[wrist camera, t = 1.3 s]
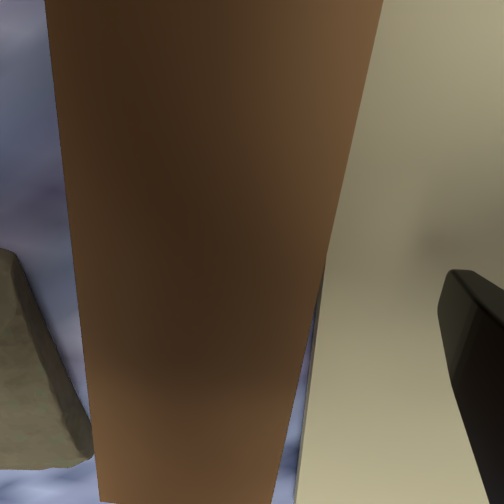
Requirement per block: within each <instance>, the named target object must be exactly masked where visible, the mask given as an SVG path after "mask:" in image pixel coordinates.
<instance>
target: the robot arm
mask: <svg viewBox="0 0 504 504" xmlns="http://www.w3.org/2000/svg"><path fill="white" fill-rule="evenodd" d="M437 316H438V321H439V326H440V332H441V337H442V342H443V347H444V352H445V358H446V363H447V368H448V373H449V378H450V382H451V386H452V390H453V393H454V396H455V399H456V402H457V406H458V409H459V412H460V415H461V418H462V421H463V424H464V427H465V430H466V433H467V436H468V439H469V442H470V446H471V449H472V452H473V455H474V458H475V461H476V464H477V467H478V470H479V473H480V476H481V479H482V482H483V486H484V489H485V492H486V495H487V498H488V501H489V504H504V290H503V289H502V288H500V287H498V286H497V285H495V284H494V283H492V282H490V281H489V280H487V279H486V278H484V277H482V276H481V275H479V274H478V273H476V272H474V271H472V270H463V269H451V270H450V271H448V273H447V275H446V277H445V281H444V284H443V288H442V291H441V295H440V298H439V302H438V307H437Z"/></svg>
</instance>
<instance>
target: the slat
mask: <svg viewBox="0 0 504 504" xmlns="http://www.w3.org/2000/svg"><path fill="white" fill-rule="evenodd" d="M44 1H45V10H46V19H47V28H48V37H49V46H50V55H51V64H52V73H53V82H54V91H55V100H56V109H57V118H58V127H59V136H60V145H61V154H62V163H63V172H64V181H65V190H66V199H67V208H68V217H69V226H70V235H71V244H72V253H73V262H74V272H75V281H76V290H77V299H78V308H79V317H80V326H81V335H82V344H83V353H84V362H85V371H86V380H87V389H88V398H89V407H90V416H91V425H92V434H93V443H94V452H95V461H96V470H97V479H98V488H99V497H100V501H101V502H108V503H116V504H271V502H272V497H273V493H274V488H275V484H276V479H277V475H278V470H279V466H280V461H281V457H282V452H283V448H284V443H285V439H286V435H287V430H288V426H289V421H290V417H291V412H292V408H293V403H294V399H295V394H296V390H297V385H298V381H299V376H300V372H301V367H302V363H303V358H304V354H305V350H306V345H307V341H308V336H309V332H310V327H311V323H312V318H313V314H314V309H315V305H316V300H317V296H318V291H319V287H320V282H321V278H322V273H323V269H324V265H325V260H326V256H327V251H328V247H329V242H330V238H331V233H332V229H333V224H334V220H335V215H336V211H337V206H338V202H339V197H340V193H341V188H342V184H343V180H344V175H345V171H346V166H347V162H348V157H349V153H350V148H351V144H352V139H353V135H354V130H355V126H356V121H357V117H358V112H359V108H360V103H361V99H362V95H363V90H364V86H365V81H366V77H367V72H368V68H369V63H370V59H371V54H372V50H373V45H374V41H375V36H376V32H377V27H378V23H379V18H380V14H381V10H382V5H383V1H384V0H44Z"/></svg>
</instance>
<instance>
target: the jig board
mask: <svg viewBox="0 0 504 504" xmlns="http://www.w3.org/2000/svg"><path fill="white" fill-rule="evenodd" d="M451 269H463V270H472V271H474V272H476V273H478V274H479V275H481V276H482V277H484V278H486V279H487V280H489V281H490V282H492V283H494V284H495V285H497V286H498V287H500V288H502V289H503V290H504V0H384V1H383V5H382V10H381V14H380V18H379V23H378V27H377V32H376V36H375V41H374V45H373V50H372V54H371V59H370V63H369V68H368V72H367V77H366V81H365V86H364V90H363V95H362V99H361V103H360V108H359V112H358V117H357V121H356V126H355V130H354V135H353V139H352V144H351V148H350V153H349V157H348V162H347V166H346V171H345V175H344V180H343V184H342V188H341V193H340V197H339V202H338V206H337V211H336V215H335V220H334V224H333V229H332V233H331V238H330V242H329V247H328V251H327V256H326V260H325V265H324V269H323V273H322V278H321V282H320V287H319V291H318V299H317V307H316V315H315V324H314V332H313V341H312V349H311V358H310V366H309V374H308V383H307V391H306V400H305V408H304V417H303V425H302V433H301V442H300V450H299V459H298V467H297V475H296V484H295V492H294V504H489V501H488V498H487V495H486V492H485V489H484V486H483V482H482V479H481V476H480V473H479V470H478V467H477V464H476V461H475V458H474V455H473V452H472V449H471V446H470V442H469V439H468V436H467V433H466V430H465V427H464V424H463V421H462V418H461V415H460V412H459V409H458V406H457V402H456V399H455V396H454V393H453V390H452V386H451V382H450V378H449V373H448V368H447V363H446V358H445V352H444V347H443V342H442V337H441V332H440V326H439V321H438V316H437V307H438V302H439V298H440V295H441V291H442V288H443V284H444V281H445V277H446V275H447V273H448V271H450V270H451Z"/></svg>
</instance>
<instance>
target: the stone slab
mask: <svg viewBox="0 0 504 504" xmlns="http://www.w3.org/2000/svg"><path fill="white" fill-rule="evenodd" d="M94 454H95V452H94V443H93V434H92V426H91V423H90V421H89V418H88V416H87V414H86V412H85V410H84V408H83V406H82V404H81V402H80V400H79V398H78V396H77V394H76V392H75V390H74V388H73V386H72V383H71V381H70V379H69V377H68V375H67V373H66V371H65V368H64V366H63V364H62V362H61V359H60V357H59V354H58V352H57V349H56V347H55V345H54V343H53V340H52V338H51V336H50V333H49V331H48V329H47V327H46V324H45V322H44V319H43V317H42V314H41V312H40V310H39V308H38V305H37V303H36V301H35V299H34V297H33V295H32V292H31V290H30V288H29V285H28V283H27V280H26V278H25V275H24V272H23V269H22V267H21V264H20V262H19V260H18V258H17V256H16V255H15V254H14V253H13V252H11V251H9V250H6V249H4V248H0V470H4V469H11V470H43V469H47V468H52V467H55V468H70V467H73V466H75V465H77V464H79V463H81V462H83V461H85V460H89V459H90V458H92V456H93V455H94Z"/></svg>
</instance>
